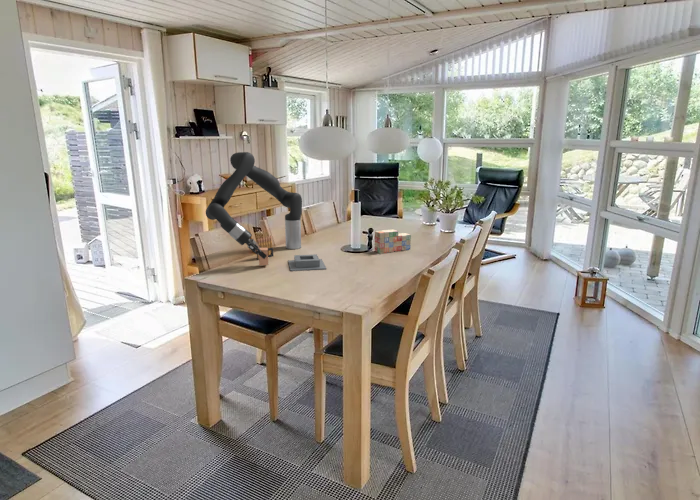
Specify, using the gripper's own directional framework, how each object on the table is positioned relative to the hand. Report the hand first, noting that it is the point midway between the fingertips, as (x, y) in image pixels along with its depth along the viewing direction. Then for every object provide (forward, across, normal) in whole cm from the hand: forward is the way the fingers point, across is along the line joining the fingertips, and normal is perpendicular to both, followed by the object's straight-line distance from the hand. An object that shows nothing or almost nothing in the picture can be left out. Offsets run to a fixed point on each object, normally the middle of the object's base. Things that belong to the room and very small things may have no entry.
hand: (265, 256), depth 227 cm
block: (+2, 0, +4) cm, 4 cm away
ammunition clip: (+4, +17, +4) cm, 18 cm away
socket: (+19, -2, -11) cm, 22 cm away
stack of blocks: (+57, +22, -48) cm, 78 cm away
